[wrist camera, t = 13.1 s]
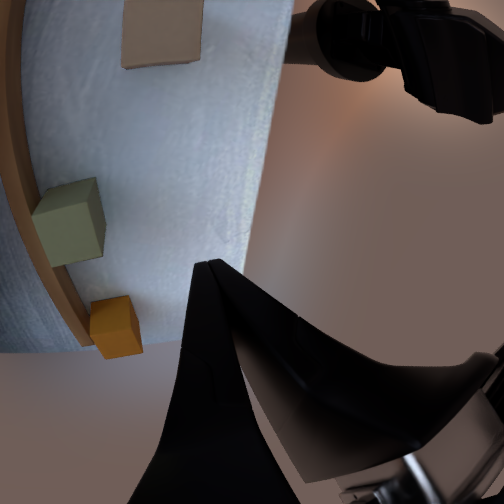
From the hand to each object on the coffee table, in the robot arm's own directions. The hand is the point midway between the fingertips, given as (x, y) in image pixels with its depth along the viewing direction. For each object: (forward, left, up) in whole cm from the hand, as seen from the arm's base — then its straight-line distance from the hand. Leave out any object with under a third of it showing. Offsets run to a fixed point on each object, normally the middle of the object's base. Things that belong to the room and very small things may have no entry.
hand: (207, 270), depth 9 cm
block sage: (+7, +2, -12) cm, 14 cm away
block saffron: (+7, +14, -12) cm, 20 cm away
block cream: (+1, -9, -12) cm, 15 cm away
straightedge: (+11, 0, -12) cm, 16 cm away
